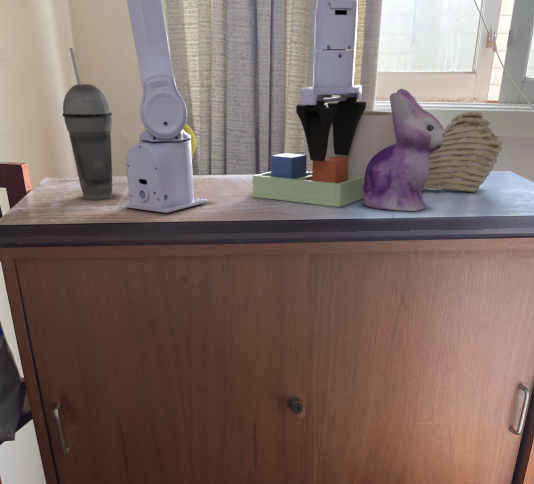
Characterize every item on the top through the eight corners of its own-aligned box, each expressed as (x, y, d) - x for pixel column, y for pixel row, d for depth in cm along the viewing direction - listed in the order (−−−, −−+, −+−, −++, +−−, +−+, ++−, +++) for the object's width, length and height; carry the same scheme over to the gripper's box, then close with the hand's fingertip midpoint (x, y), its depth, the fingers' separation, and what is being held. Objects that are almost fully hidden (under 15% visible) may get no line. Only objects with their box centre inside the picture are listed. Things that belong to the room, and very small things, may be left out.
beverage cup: (110, 202, 104) (92, 47, 93) (66, 200, 105) (43, 47, 95) (128, 193, 110) (112, 47, 99) (86, 192, 111) (66, 47, 101)
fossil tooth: (403, 194, 115) (494, 185, 114) (410, 199, 109) (505, 189, 108) (403, 118, 109) (498, 107, 108) (410, 119, 104) (510, 108, 103)
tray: (364, 198, 106) (365, 176, 104) (339, 207, 100) (340, 184, 98) (280, 189, 113) (280, 168, 111) (252, 196, 107) (252, 175, 106)
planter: (330, 193, 107) (334, 114, 101) (310, 182, 118) (313, 110, 112) (404, 191, 109) (413, 115, 104) (379, 181, 120) (385, 110, 114)
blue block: (291, 193, 105) (291, 157, 103) (270, 190, 107) (270, 155, 105) (306, 189, 108) (306, 154, 105) (285, 186, 110) (285, 152, 107)
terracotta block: (334, 197, 102) (336, 161, 99) (311, 195, 104) (312, 159, 101) (346, 193, 105) (348, 157, 102) (324, 191, 107) (325, 156, 104)
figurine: (438, 212, 97) (453, 90, 89) (366, 212, 97) (375, 91, 89) (425, 199, 105) (438, 87, 97) (359, 199, 105) (366, 87, 97)
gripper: (335, 50, 87) (330, 165, 95) (383, 50, 98) (375, 153, 105) (288, 50, 91) (286, 161, 98) (339, 49, 101) (334, 150, 108)
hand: (329, 157), depth 102 cm, fingers open, 7 cm apart
